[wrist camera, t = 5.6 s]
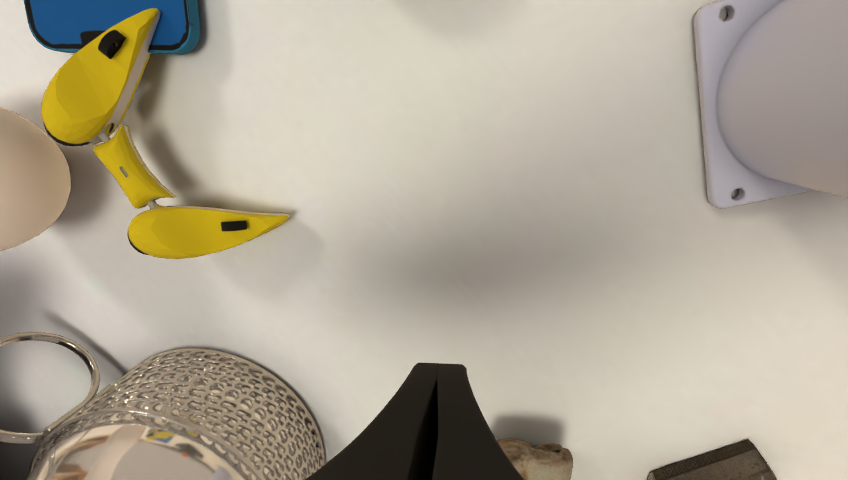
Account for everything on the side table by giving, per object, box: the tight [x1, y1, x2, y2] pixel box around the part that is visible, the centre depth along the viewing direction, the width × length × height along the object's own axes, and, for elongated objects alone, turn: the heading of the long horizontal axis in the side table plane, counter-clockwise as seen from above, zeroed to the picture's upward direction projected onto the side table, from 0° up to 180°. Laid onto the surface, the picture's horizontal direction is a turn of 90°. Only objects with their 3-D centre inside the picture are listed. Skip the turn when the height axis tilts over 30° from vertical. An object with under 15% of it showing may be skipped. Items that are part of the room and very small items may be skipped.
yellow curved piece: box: [42, 8, 290, 259], centre depth 19 cm, size 10×4×10 cm
